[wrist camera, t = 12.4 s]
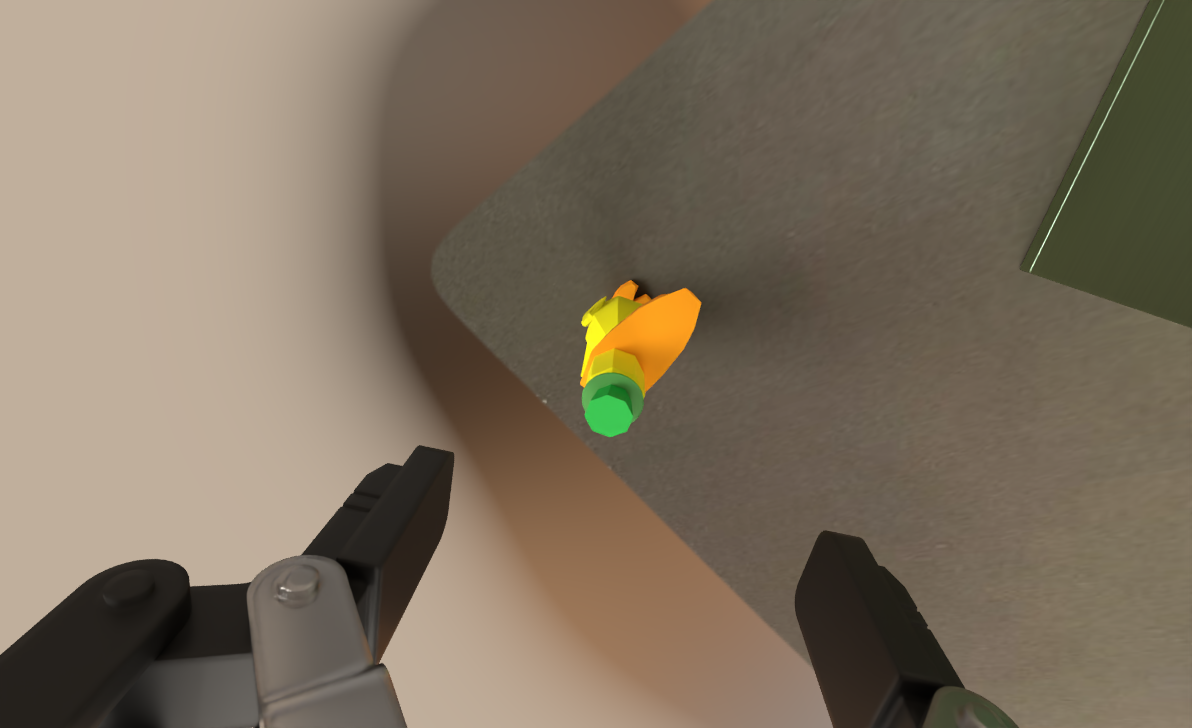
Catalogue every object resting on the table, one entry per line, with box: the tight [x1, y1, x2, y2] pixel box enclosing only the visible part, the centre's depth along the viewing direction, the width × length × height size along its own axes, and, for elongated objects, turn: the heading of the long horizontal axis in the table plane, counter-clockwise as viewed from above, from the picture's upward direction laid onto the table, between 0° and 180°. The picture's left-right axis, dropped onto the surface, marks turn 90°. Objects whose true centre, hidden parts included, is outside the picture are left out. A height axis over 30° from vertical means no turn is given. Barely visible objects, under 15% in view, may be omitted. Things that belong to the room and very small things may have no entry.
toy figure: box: [580, 280, 701, 437], centre depth 24 cm, size 7×4×12 cm, turn 138°
